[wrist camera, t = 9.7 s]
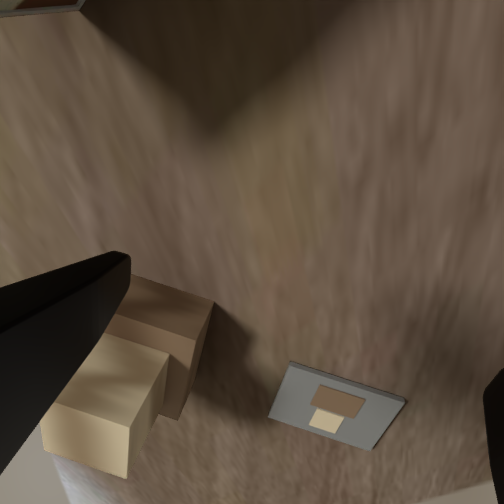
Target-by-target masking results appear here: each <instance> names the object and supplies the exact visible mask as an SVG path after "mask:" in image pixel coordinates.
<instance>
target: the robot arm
mask: <svg viewBox="0 0 504 504" xmlns="http://www.w3.org/2000/svg"><path fill="white" fill-rule="evenodd" d="M130 282H131V257H130V256H129V255H128V254H125V253H122V252H118V251H110V252H107V253H104V254H101V255H98V256H95V257H92V258H89V259H86V260H83V261H80V262H77V263H74V264H71V265H68V266H65V267H62V268H59V269H56V270H52V271H49V272H46V273H43V274H40V275H37V276H34V277H31V278H28V279H25V280H22V281H19V282H16V283H13V284H10V285H7V286H4V287H1V288H0V475H1V473H2V472H3V471H4V469H5V468H6V467H7V465H8V464H9V463H10V461H11V460H12V458H13V457H14V456H15V454H16V453H17V452H18V450H19V449H20V448H21V446H22V445H23V443H24V442H25V441H26V439H27V438H28V437H29V435H30V434H31V433H32V431H33V430H34V429H35V427H36V426H37V425H38V423H39V422H40V420H41V419H42V418H43V416H44V415H45V414H46V412H47V411H48V410H49V408H50V407H51V406H52V404H53V403H54V401H55V400H56V399H57V397H58V396H59V395H60V393H61V392H62V391H63V389H64V388H65V387H66V385H67V384H68V382H69V381H70V380H71V378H72V377H73V376H74V374H75V373H76V372H77V370H78V369H79V367H80V366H81V365H82V363H83V362H84V361H85V359H86V358H87V357H88V355H89V354H90V353H91V351H92V350H93V348H94V347H95V346H96V344H97V343H98V341H99V340H100V338H101V337H102V335H103V333H104V332H105V330H106V328H107V326H108V325H109V323H110V321H111V319H112V318H113V316H114V314H115V312H116V311H117V309H118V307H119V305H120V304H121V302H122V300H123V298H124V297H125V295H126V293H127V291H128V289H129V286H130ZM483 405H484V415H485V424H486V434H487V444H488V453H489V460H490V467H491V472H492V477H493V482H494V486H495V491H496V495H497V500H498V504H504V368H503V369H501V370H500V371H499V373H498V374H497V375H496V376H495V378H494V379H493V380H492V381H491V382H490V384H489V385H488V386H487V387H486V389H485V391H484V394H483Z"/></svg>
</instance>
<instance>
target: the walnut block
mask: <svg viewBox="0 0 504 504" xmlns="http://www.w3.org/2000/svg"><path fill="white" fill-rule="evenodd" d="M213 305H214V301H211V300H208V299H205V298H202V297H199V296H196V295H193V294H190V293H187V292H184V291H181V290H178V289H175V288H172V287H169V286H166V285H163V284H160V283H157V282H154V281H151V280H148V279H145V278H142V277H139V276H136V275H133V274H131V282H130V286H129V289H128V291H127V293H126V295H125V297H124V298H123V300H122V302H121V304H120V305H119V307H118V309H117V311H116V312H115V314H114V316H113V318H112V319H111V321H110V323H109V325H108V326H107V328H106V330H105V332H104V333H106V334H109V335H113V336H116V337H119V338H122V339H125V340H128V341H131V342H134V343H138V344H141V345H144V346H147V347H150V348H153V349H156V350H159V351H163V352H166V353H169V362H168V370H167V378H166V385H165V393H164V401H163V406H162V408H161V410H160V412H159V414H160V415H163V416H166V417H169V418H172V419H175V420H177V421H178V419H179V417H180V414H181V412H182V409H183V407H184V405H185V402H186V400H187V398H188V395H189V393H190V390H191V388H192V386H193V383H194V381H195V378H196V374H197V370H198V366H199V362H200V358H201V354H202V350H203V345H204V341H205V337H206V333H207V329H208V325H209V321H210V317H211V313H212V309H213Z"/></svg>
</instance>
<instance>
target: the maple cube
mask: <svg viewBox="0 0 504 504" xmlns="http://www.w3.org/2000/svg"><path fill="white" fill-rule="evenodd" d="M168 362H169V353H166V352H163V351H159V350H156V349H153V348H150V347H147V346H144V345H141V344H138V343H134V342H131V341H128V340H125V339H122V338H119V337H116V336H113V335H109V334H106V333H103V335H102V337H101V338H100V340H99V341H98V343H97V344H96V346H95V347H94V348H93V350H92V351H91V353H90V354H89V355H88V357H87V358H86V359H85V361H84V362H83V363H82V365H81V366H80V367H79V369H78V370H77V372H76V373H75V374H74V376H73V377H72V378H71V380H70V381H69V382H68V384H67V385H66V387H65V388H64V389H63V391H62V392H61V393H60V395H59V396H58V397H57V399H56V400H55V401H54V403H53V404H52V406H51V407H50V408H49V410H48V411H47V412H46V414H45V415H44V416H43V418H42V419H41V420H40V426H41V432H42V439H43V444H44V450H45V451H47V452H50V453H53V454H56V455H59V456H62V457H65V458H67V459H70V460H73V461H76V462H79V463H82V464H85V465H87V466H90V467H93V468H96V469H99V470H102V471H105V472H107V473H110V474H113V475H116V476H119V477H122V478H125V479H127V477H128V475H129V473H130V471H131V469H132V467H133V465H134V463H135V461H136V459H137V457H138V455H139V453H140V451H141V449H142V447H143V445H144V443H145V441H146V438H147V436H148V434H149V432H150V430H151V428H152V426H153V424H154V422H155V420H156V418H157V416H158V414H159V412H160V410H161V408H162V406H163V401H164V393H165V385H166V378H167V370H168Z"/></svg>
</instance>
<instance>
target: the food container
mask: <svg viewBox="0 0 504 504" xmlns="http://www.w3.org/2000/svg"><path fill="white" fill-rule="evenodd" d="M84 2H85V0H0V17H12V16H24V15H35V14H47V13H59V12H70V11H79V10H80V8H81V7H82V5H83V4H84Z"/></svg>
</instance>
